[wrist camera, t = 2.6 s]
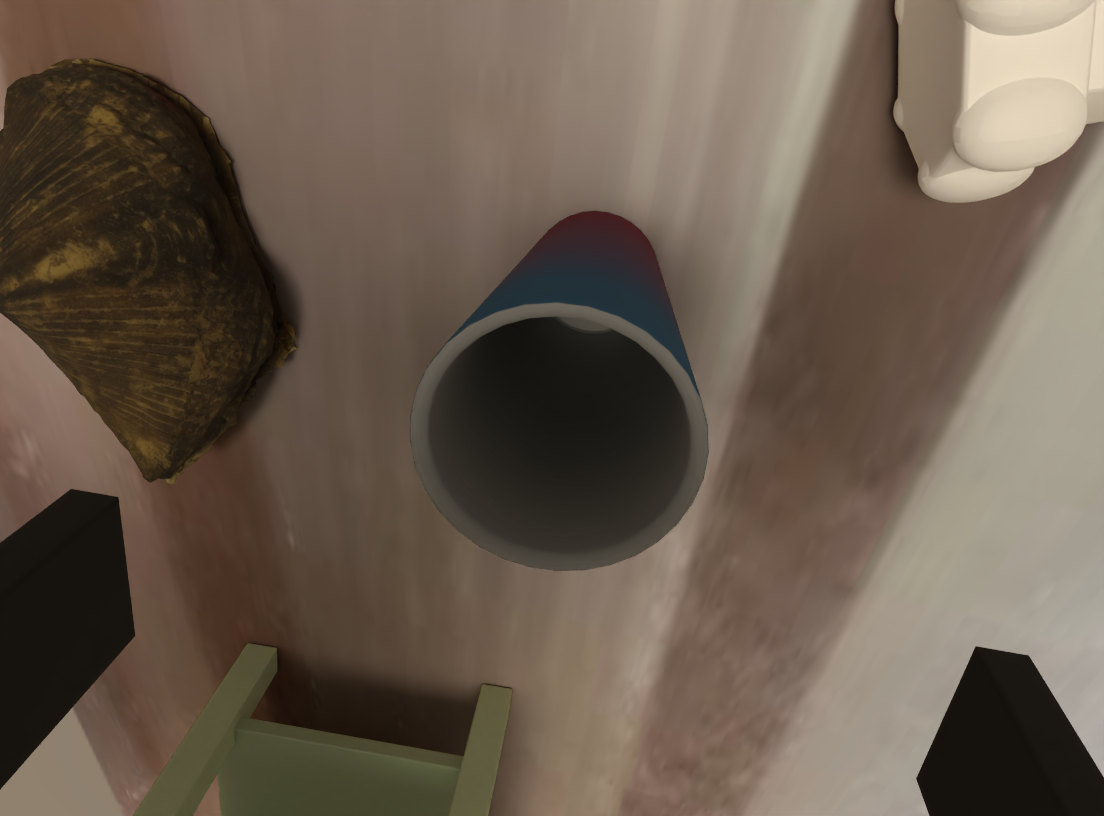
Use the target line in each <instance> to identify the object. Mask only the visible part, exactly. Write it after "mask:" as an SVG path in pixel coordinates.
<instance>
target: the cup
mask: <svg viewBox="0 0 1104 816" xmlns="http://www.w3.org/2000/svg"><path fill="white" fill-rule="evenodd" d="M410 442H411V447H412V453H413V458H414V463H415V467H416V469H417V472H418V474H419V476H420V479H421V481H422V484H423V486H424V488H425V491H426V492H427V494H428V495H429V497H430V498H431V500H432V501H433V503H434V504H435V506H436V507H437V509H438V510H439V512H440V513H441V514H442V515H443V516H444V517H445V518H446V519H447V520H448V521H449V522H450V523H451V524H452V525H453V526H454V527H455V528H456V529H457V530H458V531H459V532H460V533H461V534H463V535H464V536H466V537H467V538H468V539H470V540H471V541H472V542H474V543H475V544H477V545H478V546H479V547H481V548H483V549H485V550H487V551H489V552H491V553H493V554H495V555H497V556H499V557H501V558H503V559H506V560H509V561H512V562H515V563H519V564H522V565H525V566H528V567H533V568H540V569H548V570H555V571H570V570H588V569H593V568H598V567H603V566H608V565H612V564H615V563H617V562H620V561H622V560H625V559H628V558H630V557H633V556H636V555H637V554H639V553H640V552H642V551H644V550H645V549H647V548H649V547H650V546H652V545H654V544H655V543H657V542H658V541H659V540H661V539H662V538H663V537H664V536H665V535H666V534H667V533H668V532H669V531H670V530H671V529H673V528H674V527H675V526H676V525H677V524H678V523H679V521H680V520H681V518H682V517H683V516H684V514H685V513H686V512H687V510H688V509H689V507H690V506H691V505H692V503H693V501H694V499H695V497H696V495H697V492H698V490H699V488H700V486H701V483H702V481H703V479H704V474H705V468H706V463H707V458H708V453H709V450H708V425H707V421H706V417H705V413H704V409H703V405H702V401H701V398H700V394H699V391H698V388H697V385H696V382H695V379H694V376H693V372H692V369H691V366H690V363H689V360H688V357H687V353H686V350H685V347H684V344H683V341H682V338H681V335H680V331H679V328H678V325H677V322H676V319H675V316H674V313H673V309H672V306H671V303H670V300H669V297H668V294H667V290H666V287H665V284H664V281H663V278H662V275H661V272H660V268H659V265H658V262H657V259H656V256H655V253H654V251H653V249H652V246H651V244H650V242H649V241H648V239H647V238H646V237H645V235H644V234H643V233H642V232H641V231H640V230H639V229H638V228H637V227H636V226H635V225H633V224H632V223H631V222H629V221H627V220H626V219H624V218H622V217H620V216H617V215H614V214H611V213H607V212H598V211H591V212H582V213H578V214H575V215H571V216H569V217H567V218H565V219H563V220H561V221H560V222H558V223H557V224H556V225H554V226H553V227H552V228H551V229H550V230H549V231H548V232H547V233H546V234H545V235H544V236H543V237H542V238H541V239H540V240H539V242H538V243H537V244H536V245H535V246H534V247H533V248H532V249H531V250H530V251H529V253H528V254H527V255H526V256H525V257H524V258H523V259H522V260H521V261H520V262H519V264H518V265H517V266H516V267H515V268H514V269H513V270H512V271H511V272H510V273H509V275H508V276H507V277H506V278H505V279H504V280H503V281H502V282H501V283H500V284H499V286H498V287H497V288H496V289H495V290H494V291H493V292H492V293H491V294H490V295H489V296H488V298H487V299H486V300H485V301H484V302H483V303H482V304H481V305H480V306H479V307H478V309H477V310H476V311H475V312H474V313H473V314H472V315H471V316H470V317H469V318H468V320H467V321H466V322H465V323H464V324H463V325H462V326H461V327H460V328H459V329H458V331H457V332H456V333H455V334H454V335H453V336H452V337H451V338H450V339H449V340H448V341H447V343H446V344H445V345H444V346H443V347H442V349H441V350H440V351H439V352H438V354H437V355H436V356H435V357H434V359H433V360H432V361H431V362H430V364H429V365H428V367H427V369H426V371H425V373H424V375H423V377H422V379H421V381H420V383H419V385H418V387H417V390H416V394H415V398H414V402H413V406H412V410H411V418H410Z"/></svg>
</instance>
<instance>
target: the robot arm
mask: <svg viewBox="0 0 1104 816" xmlns="http://www.w3.org/2000/svg"><path fill="white" fill-rule="evenodd" d="M134 636H135V629H134V621H133V613H132V605H131V597H130V589H129V580H128V572H127V564H126V556H125V548H124V539H123V531H122V523H121V515H120V507H119V499H118V497H114V496H109V495H103V494H97V493H91V492H86V491H80V490H74V489H71V490H69V491H68V492H67V493H65V494H64V495H63V496H61V497H60V498H59V499H57V500H56V501H55V502H53V503H52V504H51V505H50V506H48V507H47V508H46V509H44V510H43V511H42V512H40V513H39V514H38V515H36V516H35V517H34V518H33V519H31V520H30V521H29V522H27V523H26V524H25V525H23V526H22V527H21V528H19V529H18V530H17V531H15V532H14V533H13V534H12V535H10V536H9V537H8V538H6V539H5V540H4V541H2V542H1V543H0V789H1V788H2V787H3V785H5V783H6V782H7V781H8V780H9V779H10V778H11V777H12V775H13V774H14V773H15V772H16V771H17V770H18V768H19V767H20V766H21V765H22V764H23V763H24V762H25V761H26V759H27V758H28V757H29V756H30V755H31V754H32V752H33V751H34V750H35V749H36V748H37V747H38V746H39V744H41V742H42V741H43V740H44V739H45V738H46V737H47V736H48V734H49V733H50V732H51V731H52V730H53V729H54V728H55V726H56V725H57V724H58V723H59V722H60V721H61V720H62V718H63V717H64V716H65V715H66V714H67V713H68V712H69V710H70V709H71V708H72V707H73V706H74V705H75V704H76V702H77V701H78V700H79V699H80V698H81V697H82V696H83V695H84V693H85V692H86V691H87V690H88V689H89V688H90V687H91V685H92V684H93V683H94V682H95V681H96V680H97V679H98V677H99V676H100V675H101V674H102V673H103V672H104V671H105V669H106V668H107V667H108V666H109V665H110V664H111V663H112V661H113V660H114V659H115V658H116V657H117V656H118V655H119V653H120V652H121V651H122V650H123V649H124V648H125V647H126V646H127V644H128V643H129V642H130V641H131V640H132V639H133V638H134ZM916 779H917V782H918V785H919V788H920V790H921V793H922V796H923V799H924V802H925V804H926V807H927V810H928V813H929V816H1104V777H1103V776H1102V774H1101V772H1100V771H1099V769H1098V767H1097V766H1096V764H1095V763H1094V761H1093V759H1092V758H1091V756H1090V754H1089V753H1088V751H1087V750H1086V748H1085V746H1084V745H1083V743H1082V741H1081V740H1080V738H1079V736H1078V735H1077V733H1076V732H1075V730H1074V728H1073V727H1072V725H1071V723H1070V722H1069V720H1068V719H1067V717H1066V715H1065V714H1064V712H1063V710H1062V709H1061V707H1060V706H1059V704H1058V702H1057V701H1056V699H1055V697H1054V696H1053V694H1052V693H1051V691H1050V689H1049V688H1048V686H1047V684H1046V683H1045V681H1044V680H1043V678H1042V676H1041V675H1040V673H1039V671H1038V670H1037V668H1036V666H1035V665H1034V663H1033V662H1032V660H1031V658H1030V657H1029V656H1028V655H1022V654H1016V653H1011V652H1005V651H999V650H993V649H988V648H982V647H975V649H974V651H973V654H972V656H971V658H970V660H969V663H968V665H967V667H966V669H965V671H964V674H963V676H962V678H961V680H960V683H959V685H958V687H957V689H956V691H955V694H954V696H953V698H952V700H951V703H950V705H949V707H948V709H947V711H946V714H945V716H944V718H943V720H942V723H941V725H940V727H939V729H938V731H937V734H936V736H935V738H934V740H933V743H932V745H931V747H930V749H929V751H928V754H927V756H926V758H925V760H924V763H923V765H922V767H921V769H920V771H919V774H918V776H917V778H916Z"/></svg>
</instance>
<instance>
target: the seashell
mask: <svg viewBox="0 0 1104 816" xmlns="http://www.w3.org/2000/svg"><path fill="white" fill-rule="evenodd" d="M230 163H231V161H230V160H229V158H228V157H227V156H226V154H225V152H224V150H223V149H222V148H221V147H220V145H219V142H218V140H217V137H216V135H215V132H214V130H213V128H212V126H211V123H210V120H209V118H207V117H206V116H205V115H204V114H202V113H201V112H200V111H199V110H197V109H196V108H195V107H194V106H193V105H191V104H190V103H189V102H188V101H187V100H185V99H184V98H183V97H182V96H181V95H179V94H177V93H174V92H172V91H171V90H169V89H167V88H165V87H163V86H162V85H159V84H157V83H155V82H153V81H151V80H150V79H148V78H147V77H145V76H144V75H143V74H141V73H136V72H133V71H131V70H129V69H126V68H122V67H119V66H115V65H111V64H107V63H104V62H100V61H96V60H94V59H74V60H63V61H61V62H58V63H56V64H54V65H52V66H50V67H49V68H47V70H46V71H44V72H42V73H40V74H32V75H30V76H27V77H23V78H20V79H18V80H16V81H15V82H14V83H13V84H12V85H11V86H10V87H8V88H7V93H6V99H5V110H4V128H3V129H2V130H1V131H0V313H2V314H3V315H4V316H5V317H7V318H8V319H9V320H10V321H12V322H13V323H14V324H15V325H17V326H18V327H19V328H20V329H21V330H22V331H23V332H24V333H26V334H27V335H28V336H29V337H30V338H31V339H32V340H33V341H34V342H35V343H36V344H37V345H38V346H39V347H40V348H41V349H42V350H43V351H44V352H45V353H46V355H47V356H48V357H49V358H50V359H51V360H52V361H53V362H54V363H55V364H56V365H57V367H58V368H59V369H60V370H61V371H62V372H63V373H64V374H65V375H66V376H67V377H68V379H69V380H70V381H71V382H72V383H73V385H74V386H75V387H76V389H77V390H78V391H79V393H80V394H81V395H83V396H84V397H85V398H86V399H87V401H88V402H89V404H90V405H91V407H92V408H93V409H94V411H96V412H97V413H98V414H99V415H100V416H101V418H102V420H103V421H104V423H105V424H106V425H107V426H108V427H109V428H110V429H111V430H112V432H113V433H114V434H115V435H116V437H117V438H118V440H119V441H120V443H121V444H122V445H123V446H124V447H125V448H126V449H127V450H128V451H129V452H130V454H131V456H132V457H133V459H134V461H135V462H136V464H137V466H138V467H139V469H140V471H141V472H142V475H143V477H144V478H145V479H146V480H147V481H149V482H150V483H151V482H153V481H154V480H156V479H158V478H160V479H165V480H166V482H167V484H170V485H172V484H173V483H174V482H175V481H176V479H177V477H178V476H179V475H180V474H182V473H183V472H184V470H185V469H186V468H187V467H188V466H190V465H191V464H193V463H194V462H196V461H197V460H198V459H199V458H200V457H201V456H202V455H204V454H205V453H207V452H209V451H210V450H211V447H212V445H213V443H215V441H216V440H217V439H218V438H219V436H220V435H221V434H222V433H224V432H225V431H226V430H227V429H228V428H229V427H231V426H233V425H235V424H236V422H237V409H238V407H239V405H240V404H241V403H242V402H245V401H251V399H252V397H253V395H254V393H255V389H256V380H258V379H259V378H261V377H262V376H264V375H266V374H267V373H272V368H273V367H274V366H276V367H278V368H279V369H281V367H282V366H283V365H284V363H285V359H286V357H287V355H288V354H289V353H290V352H292V351H293V350H295V349H297V348H296V347H295V346H294V345H293V341H294V339H295V334H294V327H293V326H292V325H291V324H290V323H289V322H288V321H287V320H286V318H285V317H284V315H283V313H282V310H281V307H280V304H279V301H278V298H277V295H276V290H275V285H274V280H273V276H272V275H271V273H270V271H269V269H268V267H267V265H266V264H265V262H264V260H263V258H262V255H261V254H260V252H259V251H258V249H257V247H256V244H255V242H254V239H253V237H252V234H251V231H250V229H249V226H248V224H247V221H246V219H245V216H244V214H243V211H242V209H241V206H240V199H239V195H238V191H237V188H236V185H235V181H234V178H233V174H232V171H231V168H230Z"/></svg>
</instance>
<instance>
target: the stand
mask: <svg viewBox="0 0 1104 816" xmlns="http://www.w3.org/2000/svg"><path fill="white" fill-rule="evenodd" d="M276 673H277V648H274V647H268V646H263V645H257V644H251V643H247V645H246V646H245V648H244V649H243V651H242V652H241V654H240V655H239V657H238V658H237V660H236V661H235V663H234V664H233V666H232V667H231V669H230V670H229V672H228V673H227V675H226V676H225V678H224V679H223V681H222V682H221V684H220V685H219V687H218V688H217V690H216V691H215V693H214V694H213V696H212V697H211V699H210V700H209V702H208V703H207V705H206V706H205V708H204V709H203V711H202V712H201V714H200V715H199V717H198V718H197V720H196V721H195V723H194V724H193V726H192V727H191V729H190V730H189V732H188V733H187V735H186V736H185V738H184V739H183V741H182V742H181V744H180V745H179V747H178V748H177V750H176V752H175V753H174V755H173V756H172V758H171V759H170V761H169V762H168V764H167V765H166V767H165V768H164V770H163V771H162V773H161V774H160V776H159V777H158V779H157V780H156V782H155V783H154V785H153V786H152V788H151V789H150V791H149V792H148V794H147V795H146V797H145V798H144V800H143V801H142V803H141V804H140V806H139V807H138V809H137V810H136V812H135V813H134V815H133V816H193V814H194V812H195V810H196V809H197V807H198V805H199V804H200V802H201V800H202V799H203V797H204V795H205V793H206V792H207V790H208V788H209V787H210V785H211V783H212V782H213V780H214V778H215V776H216V775H217V773H218V783H219V797H220V810H221V816H488V815H489V810H490V805H491V800H492V795H493V790H494V785H495V780H496V776H497V771H498V766H499V761H500V756H501V751H502V746H503V741H504V736H505V731H506V726H507V722H508V717H509V712H510V704H511V697H512V689H509V688H503V687H497V686H492V685H486V684H482V686H481V690H480V694H479V698H478V702H477V706H476V709H475V713H474V717H473V721H472V725H471V729H470V733H469V737H468V741H467V745H466V749H465V753H464V756H459V755H454V754H448V753H443V752H437V751H431V750H426V749H420V748H414V747H409V746H403V745H398V744H392V743H386V742H381V741H375V740H370V739H364V738H358V737H353V736H347V735H341V734H336V733H330V732H325V731H319V730H313V729H308V728H302V727H296V726H291V725H285V724H280V723H274V722H268V721H263V720H257V719H251V718H250V717H251V715H252V713H253V712H254V710H255V708H256V707H257V705H258V703H259V702H260V700H261V698H262V696H263V695H264V693H265V691H266V690H267V688H268V686H269V684H270V683H271V681H272V679H273V678H274V676H275V674H276Z"/></svg>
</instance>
